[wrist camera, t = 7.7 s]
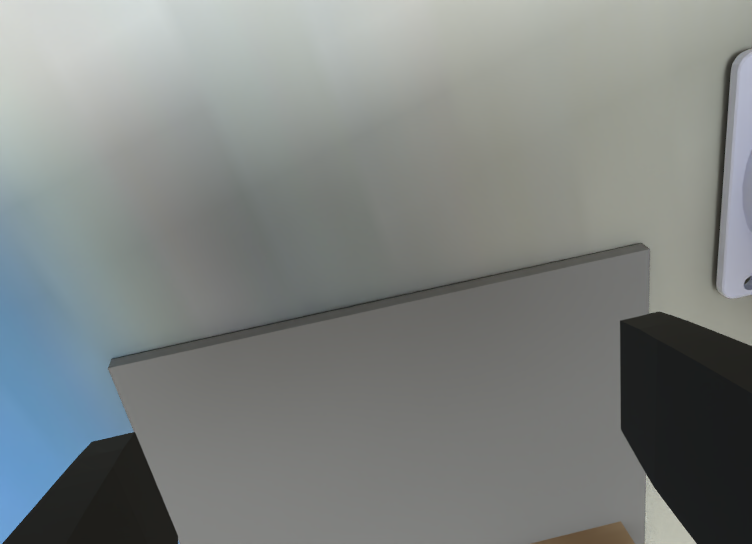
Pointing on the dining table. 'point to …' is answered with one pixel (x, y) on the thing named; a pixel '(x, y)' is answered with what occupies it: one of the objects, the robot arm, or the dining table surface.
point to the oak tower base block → (594, 536)
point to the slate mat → (404, 416)
